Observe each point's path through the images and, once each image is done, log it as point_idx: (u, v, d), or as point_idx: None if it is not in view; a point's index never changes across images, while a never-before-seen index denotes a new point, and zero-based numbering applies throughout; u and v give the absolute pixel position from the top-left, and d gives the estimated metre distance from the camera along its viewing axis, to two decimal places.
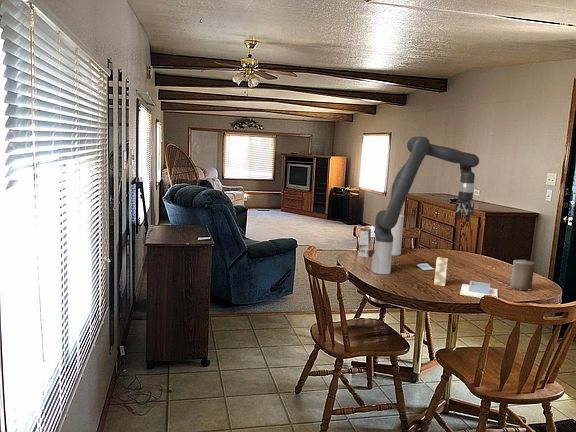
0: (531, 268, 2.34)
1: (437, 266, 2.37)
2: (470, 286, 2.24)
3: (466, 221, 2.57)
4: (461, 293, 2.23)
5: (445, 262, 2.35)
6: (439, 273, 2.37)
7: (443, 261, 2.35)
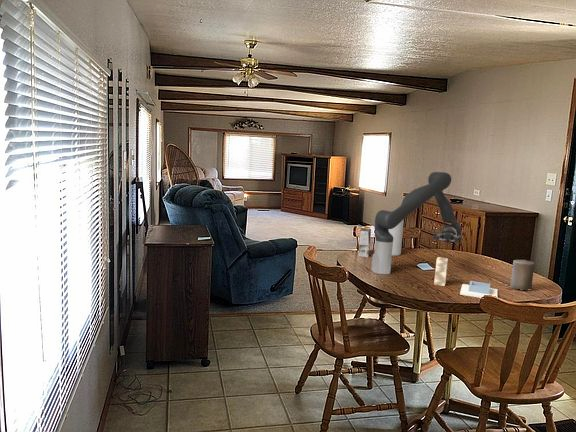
0: (531, 268, 2.34)
1: (437, 266, 2.37)
2: (470, 286, 2.24)
3: (456, 239, 2.45)
4: (461, 293, 2.23)
5: (445, 262, 2.35)
6: (439, 273, 2.37)
7: (443, 261, 2.35)
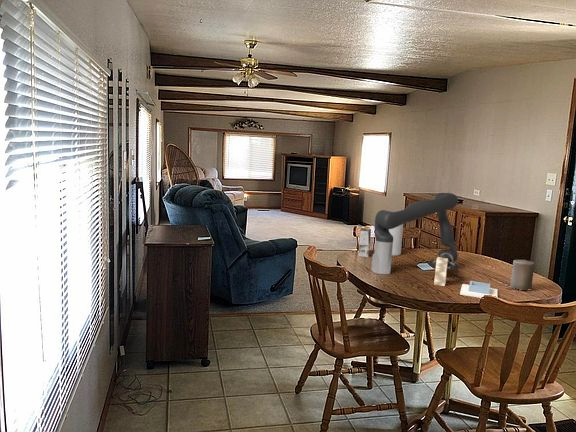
0: (531, 268, 2.34)
1: (437, 266, 2.37)
2: (470, 286, 2.24)
3: (452, 266, 2.42)
4: (461, 293, 2.23)
5: (445, 262, 2.35)
6: (439, 273, 2.37)
7: (443, 261, 2.35)
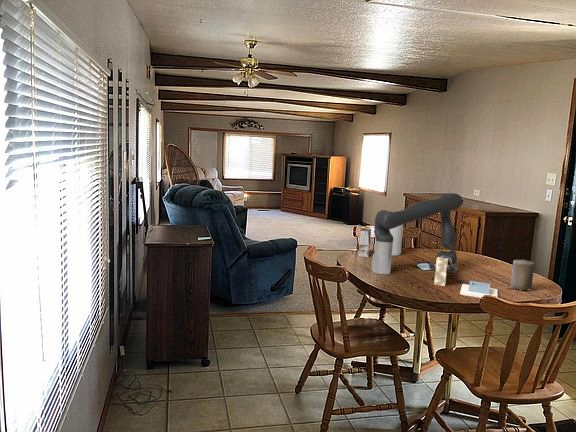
0: (531, 268, 2.34)
1: (437, 266, 2.37)
2: (470, 286, 2.24)
3: (447, 270, 2.35)
4: (461, 293, 2.23)
5: (445, 262, 2.35)
6: (439, 273, 2.37)
7: (443, 261, 2.35)
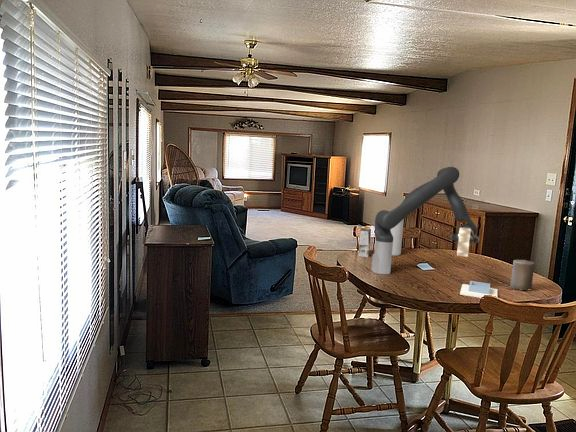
0: (531, 268, 2.34)
1: (460, 236, 2.29)
2: (470, 286, 2.24)
3: (471, 240, 2.27)
4: (461, 293, 2.23)
5: (468, 232, 2.27)
6: (462, 244, 2.29)
7: (466, 231, 2.27)
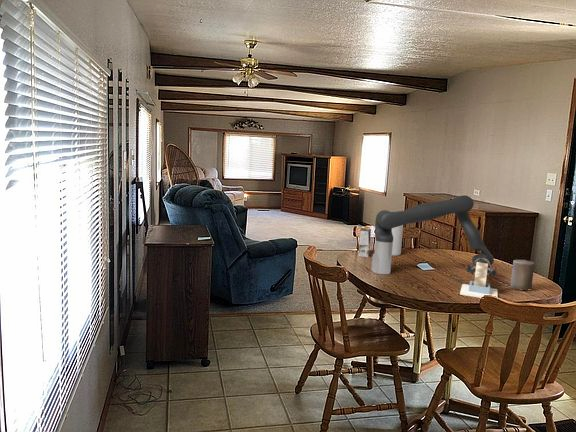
0: (531, 268, 2.34)
1: (477, 272, 2.25)
2: (470, 286, 2.24)
3: (490, 273, 2.23)
4: (461, 293, 2.23)
5: (485, 267, 2.23)
6: (479, 279, 2.24)
7: (483, 266, 2.23)
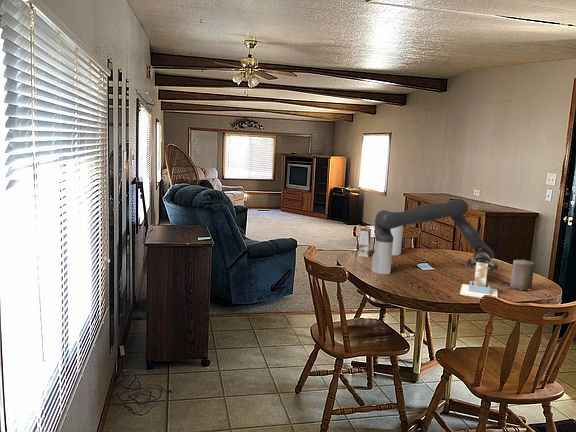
0: (531, 268, 2.34)
1: (477, 272, 2.25)
2: (470, 286, 2.24)
3: (492, 267, 2.35)
4: (461, 293, 2.23)
5: (485, 267, 2.23)
6: (479, 279, 2.24)
7: (483, 266, 2.23)
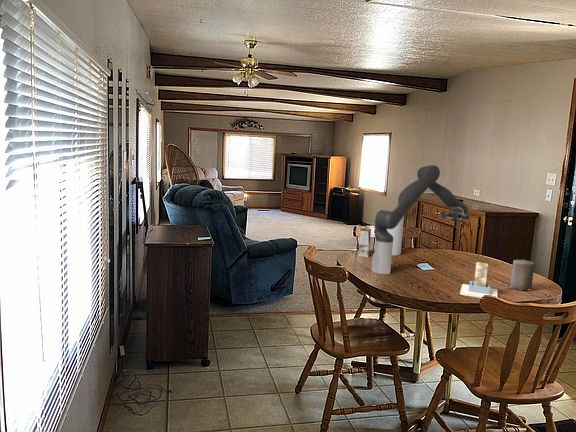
0: (531, 268, 2.34)
1: (477, 272, 2.25)
2: (470, 286, 2.24)
3: (463, 216, 2.50)
4: (461, 293, 2.23)
5: (485, 267, 2.23)
6: (479, 279, 2.24)
7: (483, 266, 2.23)
